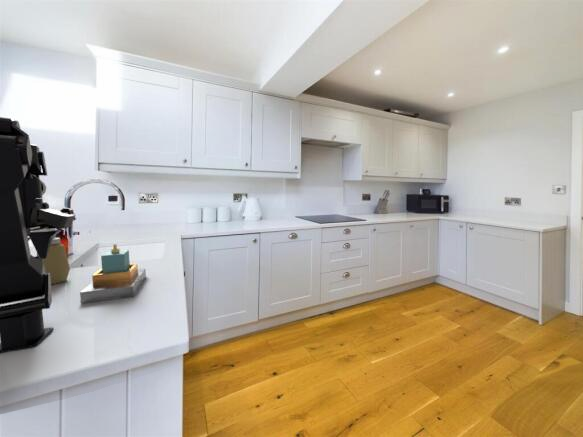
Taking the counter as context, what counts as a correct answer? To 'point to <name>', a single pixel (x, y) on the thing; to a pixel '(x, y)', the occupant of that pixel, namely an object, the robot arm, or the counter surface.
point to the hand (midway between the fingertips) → (32, 263)
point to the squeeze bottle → (56, 262)
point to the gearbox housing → (113, 285)
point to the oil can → (115, 261)
